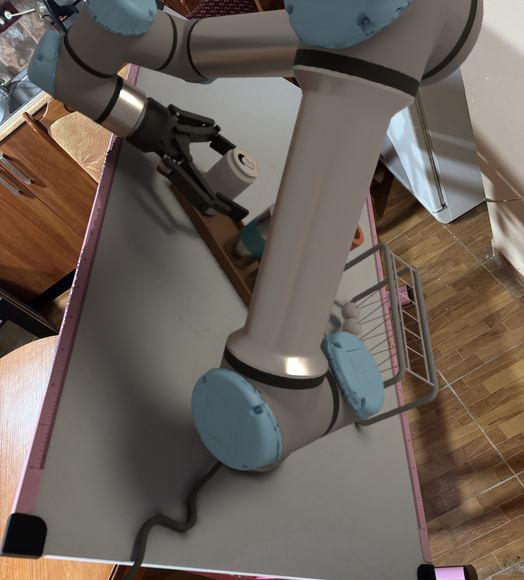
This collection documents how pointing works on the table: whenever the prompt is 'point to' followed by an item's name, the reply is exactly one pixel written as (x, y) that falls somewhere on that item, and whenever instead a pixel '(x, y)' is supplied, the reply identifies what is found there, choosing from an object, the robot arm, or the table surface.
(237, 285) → the can tray
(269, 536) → the table surface
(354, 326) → the newton's cradle
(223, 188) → the beverage can
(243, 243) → the tray can
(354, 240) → the jar
